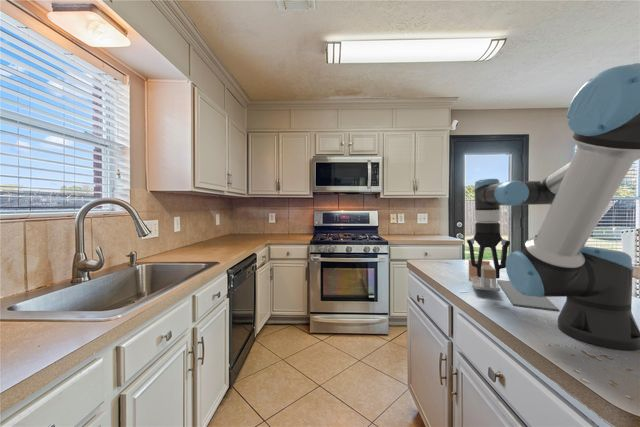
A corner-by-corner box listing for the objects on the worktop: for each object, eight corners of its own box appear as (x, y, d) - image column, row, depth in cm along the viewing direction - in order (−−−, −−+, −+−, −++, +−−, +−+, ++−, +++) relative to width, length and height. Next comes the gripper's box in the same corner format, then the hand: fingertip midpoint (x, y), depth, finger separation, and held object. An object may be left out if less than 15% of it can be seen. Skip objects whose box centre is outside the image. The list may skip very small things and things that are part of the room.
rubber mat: (558, 311, 83) (558, 309, 83) (513, 305, 88) (513, 303, 88) (530, 284, 110) (530, 282, 110) (496, 281, 115) (496, 279, 115)
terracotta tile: (489, 281, 115) (489, 261, 114) (469, 279, 118) (468, 260, 118) (489, 280, 116) (488, 260, 116) (468, 278, 120) (468, 259, 120)
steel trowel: (503, 297, 88) (503, 270, 88) (476, 294, 92) (476, 269, 92) (492, 279, 109) (492, 258, 109) (470, 278, 112) (470, 257, 112)
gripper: (511, 221, 93) (512, 286, 94) (461, 221, 100) (462, 281, 101) (517, 222, 86) (518, 292, 87) (462, 222, 93) (463, 287, 94)
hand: (488, 286), depth 94 cm, fingers closed on steel trowel, 3 cm apart
